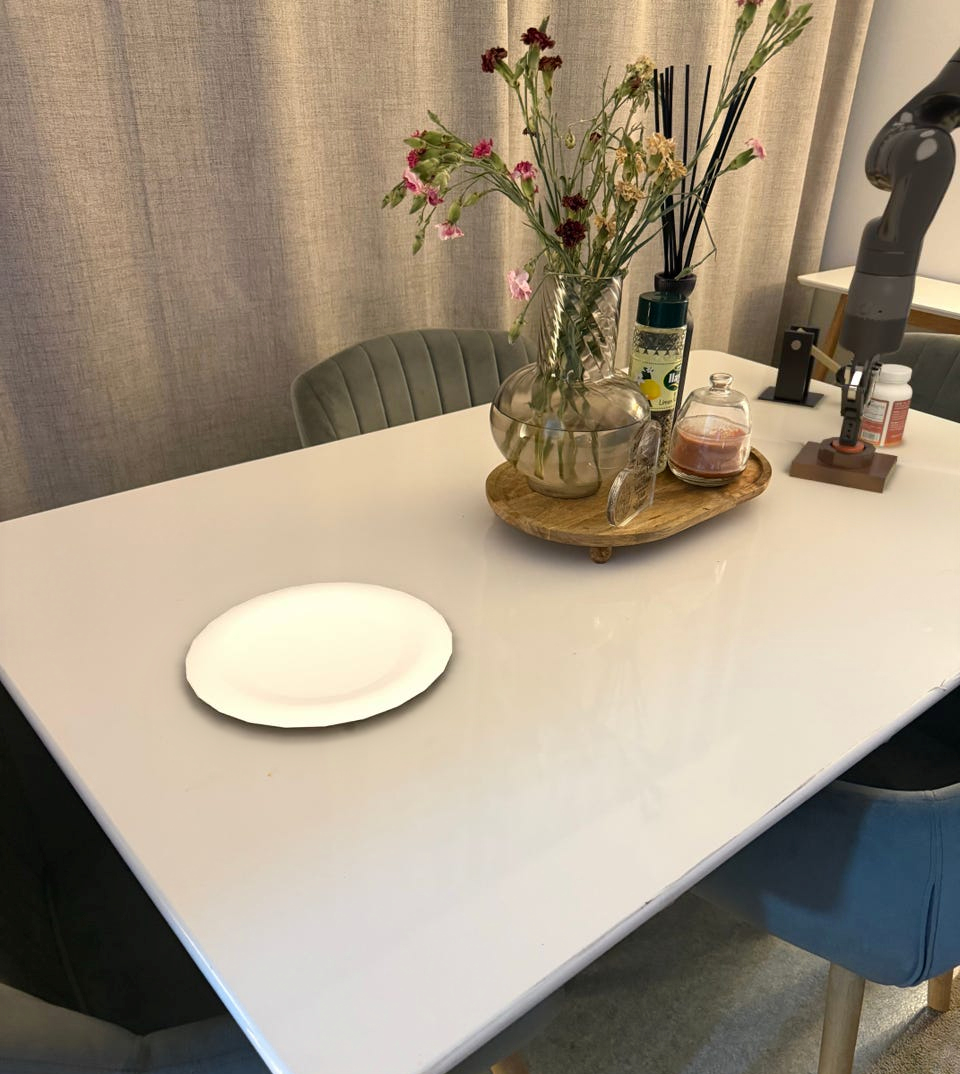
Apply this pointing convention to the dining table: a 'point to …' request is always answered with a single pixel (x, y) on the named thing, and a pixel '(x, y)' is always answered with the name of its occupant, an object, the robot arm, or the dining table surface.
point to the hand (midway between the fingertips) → (847, 443)
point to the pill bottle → (888, 407)
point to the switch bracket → (795, 369)
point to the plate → (319, 655)
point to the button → (848, 447)
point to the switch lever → (829, 363)
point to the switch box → (844, 466)
